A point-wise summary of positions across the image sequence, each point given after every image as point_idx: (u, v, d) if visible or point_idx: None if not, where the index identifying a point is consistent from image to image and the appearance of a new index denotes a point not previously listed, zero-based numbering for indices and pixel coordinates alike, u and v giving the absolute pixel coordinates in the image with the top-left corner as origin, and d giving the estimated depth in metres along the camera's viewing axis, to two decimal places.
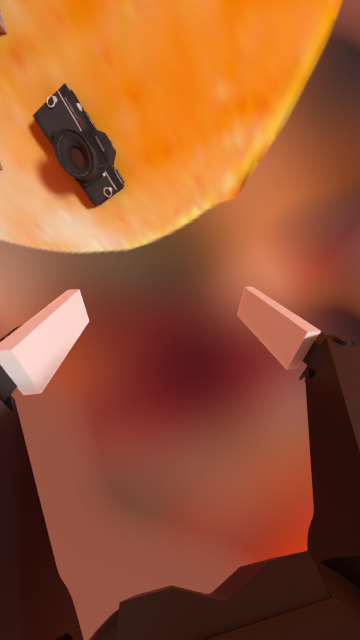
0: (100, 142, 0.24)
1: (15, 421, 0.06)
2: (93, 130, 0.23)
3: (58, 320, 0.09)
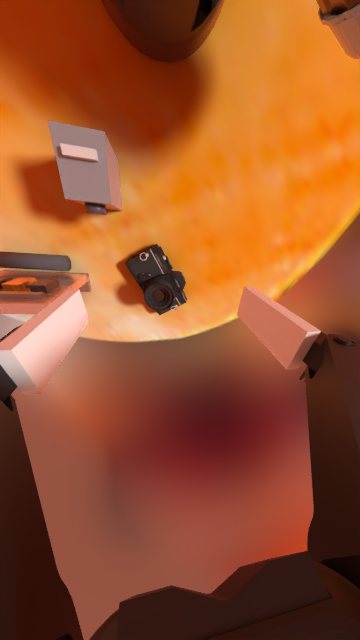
0: (178, 282, 0.29)
1: (15, 421, 0.06)
2: (174, 276, 0.28)
3: (58, 320, 0.09)
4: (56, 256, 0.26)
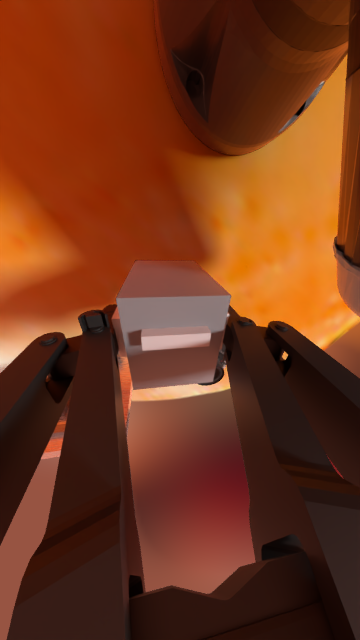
0: (223, 351, 0.27)
1: (119, 379, 0.07)
2: None
3: None
4: None
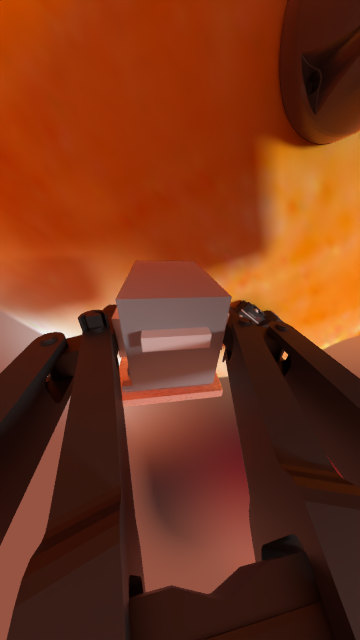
0: None
1: (119, 379, 0.07)
2: None
3: None
4: None
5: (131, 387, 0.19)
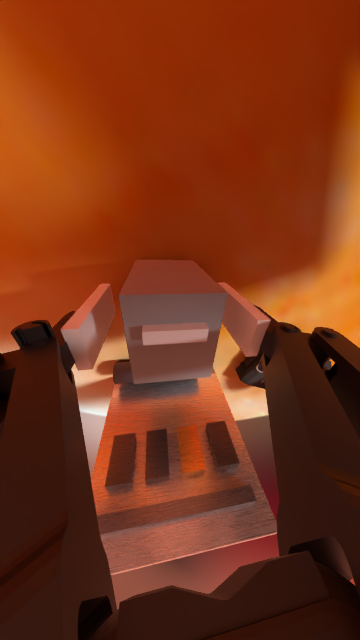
0: None
1: (74, 393, 0.07)
2: None
3: (100, 309, 0.10)
4: None
5: (110, 533, 0.10)
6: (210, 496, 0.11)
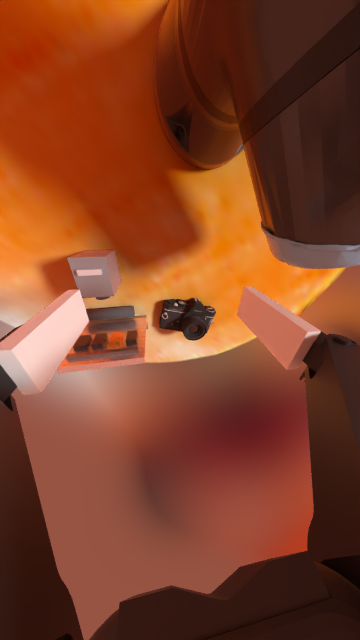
0: (198, 310, 0.34)
1: (15, 421, 0.06)
2: (192, 309, 0.34)
3: (58, 320, 0.09)
4: (126, 308, 0.34)
5: (73, 358, 0.25)
6: (118, 349, 0.26)
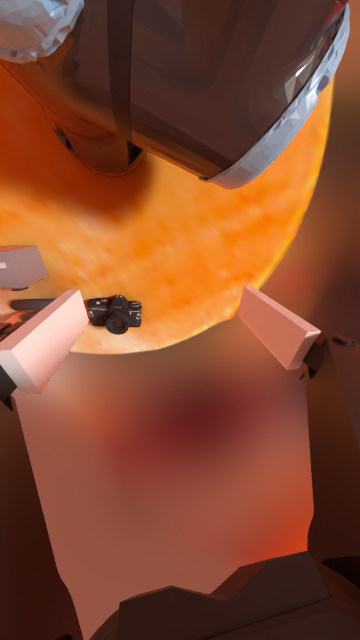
0: (117, 306, 0.37)
1: (15, 421, 0.06)
2: (110, 306, 0.37)
3: (58, 320, 0.09)
4: None
5: None
6: None
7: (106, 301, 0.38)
